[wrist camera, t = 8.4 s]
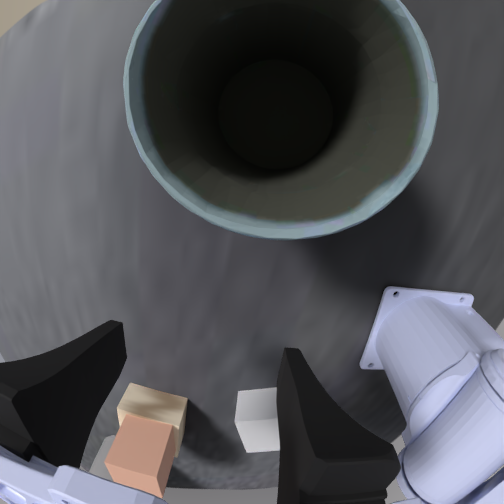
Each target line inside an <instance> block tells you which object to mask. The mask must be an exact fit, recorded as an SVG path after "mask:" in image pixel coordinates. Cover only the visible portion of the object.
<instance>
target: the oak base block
mask: <svg viewBox="0 0 504 504" xmlns="http://www.w3.org/2000/svg"><path fill="white" fill-rule="evenodd" d="M187 399H188V398H185V397H180V396H176V395H172V394H169V393H165V392H161V391H157V390H154V389H150V388H147V387H143V386H140V385H137V384H133V383H130V384H129V386H128V388H127V389H126V391H125V393H124V395H123V397H122V399H121V401H120V403H119V405H118V407H117V412H118V418H119V424H120V426H121V424H122V422H123V420H124V418H125V416H126V414H128V415H132V416H136V417H140V418H144V419H148V420H153V421H157V422H162V423H166V424H171V425H173V432H174V440H175V448H176V452H175V455H174V457H178V453H179V450H180V446H181V442H182V439H183V435H184V430H185V419H186V409H187Z"/></svg>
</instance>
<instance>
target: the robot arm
mask: <svg viewBox="0 0 504 504" xmlns="http://www.w3.org/2000/svg"><path fill="white" fill-rule="evenodd" d="M396 291H398V292H397V294H396V295H393V294H394V292H396ZM461 298H462V299H461ZM460 299H461V300H460ZM473 300H474V297H473V296H472V295H471V294H467V293H456V292H445V291H435V290H424V289H414V288H404V287H394V286H389V287H387V288H386V289H385V290H384V292H383V296H382V299H381V302H380V305H379V309H378V312H377V315H376V318H375V321H374V324H373V327H372V330H371V333H370V336H369V339H368V342H367V344H366V347H365V350H364V353H363V355H362V358H361V361H360V367H361V368H362V369H384V370H385V372H386V374H387V377H388V379H389V381H390V384H391V386H392V388H393V391H394V393H395V396H396V398H397V400H398V403H399V405H400V408H401V410H402V412H403V415H404V417H405V420H406V422H407V426H406V428H405V430H404V431H403V432H402V437H403V440H404V443H405V446H406V447H405V448H403V450H402V451H401V452H400V453H399V455H398V456H397V453H396V451H395V449H394V447H393V445H392V444H390V443H388V442H386V441H384V440H383V439H381V438H379V437H377V436H375V435H374V434H372V433H371V432H369V431H368V430H366V429H365V428H363V427H362V426H361V425H359V424H358V423H357V422H356V421H354V420H353V419H352V418H351V417H350V416H349V415H347V414H346V413H345V412H344V411H343V410H342V409H341V408H340V407H339V406H338V405H337V404H336V403H335V402H334V401H333V399H332V398H331V397H330V396H329V395H328V393H327V392H326V391H325V389H324V388H323V387H322V385H321V384H320V383H319V381H318V380H317V378H316V377H315V375H314V374H313V372H312V370H311V369H310V367H309V365H308V364H307V362H306V360H305V358H304V357H303V355H302V353H301V351H300V350H299V349H296V348H284V353H283V357H282V362H281V366H280V371H279V375H278V380H277V393H276V405H277V417H278V428H279V440H280V465H279V484H278V498H277V504H385V500H384V499H385V498H387V491H386V488H387V487H388V485H389V484H390V483H391V482H392V481H393V480H394V479H395V478H396V479H397V482H398V485H399V487H400V489H401V491H402V492H403V494H404V496H405V497H406V498H407V500H403V501H397V502H393V503H391V504H504V467H503V468H502V469H501V470H500V471H498V472H497V473H496V474H495V475H494V476H493V477H492V478H490V479H489V480H487V481H485V480H486V479H488V478H489V477H490V476H491V475H492V474H493V473H495V472H496V471H497V470H498V469H499V468H500V467H501V466H502V465H503V464H504V340H503V339H502V337H501V336H500V335H499V334H498V333H497V332H496V331H495V330H494V329H493V328H492V327H491V326H490V325H489V324H488V323H487V322H486V321H485V320H484V319H483V318H482V317H481V316H480V315H479V314H478V313H477V312H476V311H475V310H474V309H473V308H472V307H471V306H472V303H473ZM126 359H127V354H126V347H125V339H124V331H123V323H122V322H118V321H113V320H110V321H108V322H106V323H104V324H102V325H100V326H98V327H97V328H95V329H93V330H91V331H90V332H88V333H86V334H84V335H82V336H81V337H79V338H77V339H75V340H73V341H71V342H69V343H67V344H65V345H63V346H61V347H58V348H56V349H54V350H51V351H49V352H46V353H43V354H40V355H37V356H33V357H30V358H26V359H22V360H17V361H11V362H5V363H0V498H1V499H3V500H4V501H5V502H7V503H8V504H168V503H167V502H166V501H165V500H163V499H161V498H159V497H157V496H155V495H153V494H151V493H148V492H145V491H142V490H139V489H136V488H133V487H129V486H126V485H123V484H120V483H116V482H113V481H110V480H108V479H105V478H102V477H99V476H96V475H94V474H91V473H88V472H86V471H83V470H81V469H79V467H80V463H81V460H82V456H83V453H84V449H85V446H86V443H87V440H88V437H89V435H90V432H91V429H92V427H93V424H94V422H95V419H96V417H97V415H98V413H99V411H100V409H101V407H102V405H103V403H104V402H105V400H106V398H107V397H108V395H109V393H110V391H111V390H112V388H113V386H114V385H115V383H116V381H117V379H118V378H119V376H120V374H121V371H122V369H123V367H124V364H125V361H126ZM370 363H372V364H371V365H369V364H370ZM484 481H485V482H484Z"/></svg>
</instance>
